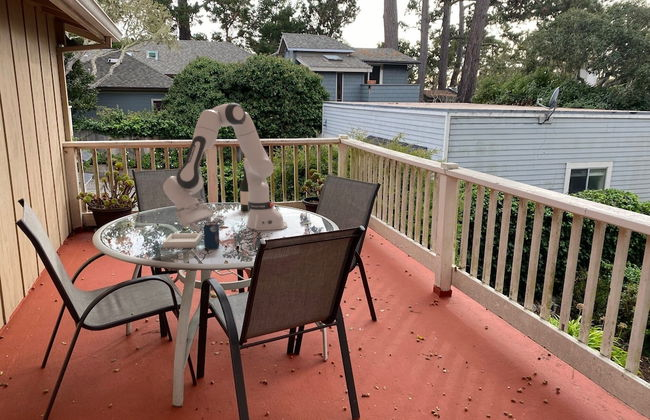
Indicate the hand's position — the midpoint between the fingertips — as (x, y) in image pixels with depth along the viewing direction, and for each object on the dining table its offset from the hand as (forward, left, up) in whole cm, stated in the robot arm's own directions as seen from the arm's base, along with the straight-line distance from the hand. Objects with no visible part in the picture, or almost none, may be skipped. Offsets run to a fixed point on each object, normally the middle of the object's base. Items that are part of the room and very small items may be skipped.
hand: (206, 228), depth 232 cm
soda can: (-3, +1, -9) cm, 10 cm away
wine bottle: (-13, -81, -9) cm, 82 cm away
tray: (+12, -7, -9) cm, 17 cm away
